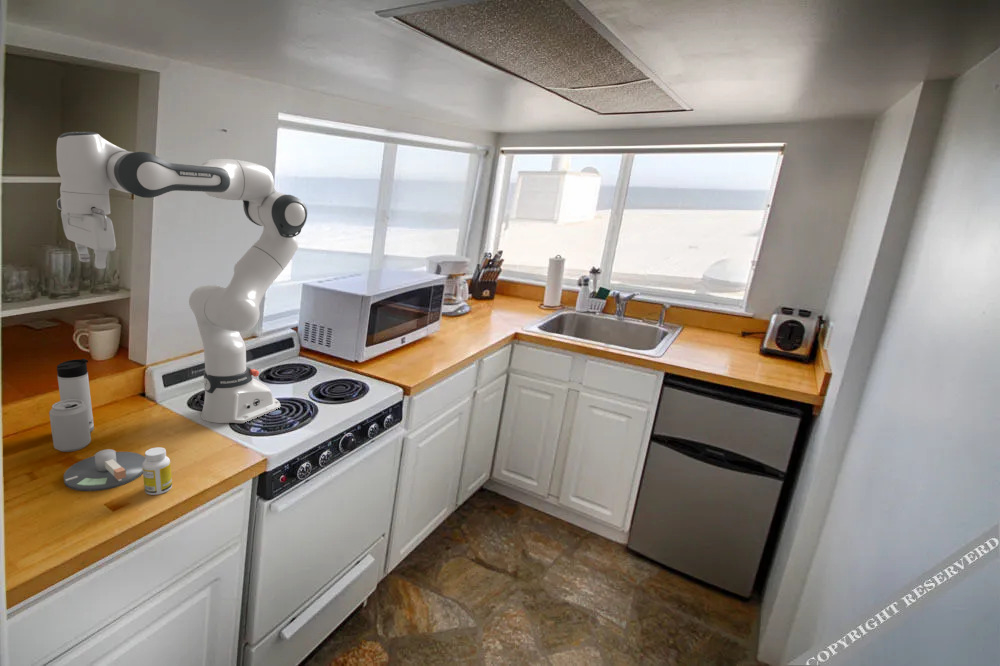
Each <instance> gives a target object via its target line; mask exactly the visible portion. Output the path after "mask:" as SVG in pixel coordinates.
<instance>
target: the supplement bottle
mask: <svg viewBox="0 0 1000 666" xmlns="http://www.w3.org/2000/svg"><path fill="white" fill-rule="evenodd" d="M144 457H145V459H146V460H145V461H144V462H143V464H142V469H143V474H142V477H143V487H144V488H143V490H144V492H145V493H146V494H147V495H150V496H156V495H161V494H164V493H167V492H169V491H170V490H171V489H172V488H173V480H172V478H173V477H172V467H171V466H172V465H171V460H170V457H168V456H167V450H166V448H164V447H161V446H160V447H157V446H156V447H151V448H149V449H147V450H146V451H144Z"/></svg>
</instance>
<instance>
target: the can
mask: <svg viewBox="0 0 1000 666" xmlns="http://www.w3.org/2000/svg"><path fill="white" fill-rule="evenodd" d="M83 403H84V402H83V401H82V400H77V399H70V400H64V401H61V400H59V401H57V402H54V404H52V405H51V409H50V410H49V412H48V413H49V414H48V415H49V421H50V428H51V436H52V442H53V443H52V444H53V448H54V449H55V450H58V451H59V452H65V453H70V452H75V451H80V450H82V449H84V448H86V447H87V446H88V445H89V444H90V443H91V442H92V438H91V436H92V435H91V432H90V426H89V418H88V409H87V406H86V405H85V404H83Z"/></svg>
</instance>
